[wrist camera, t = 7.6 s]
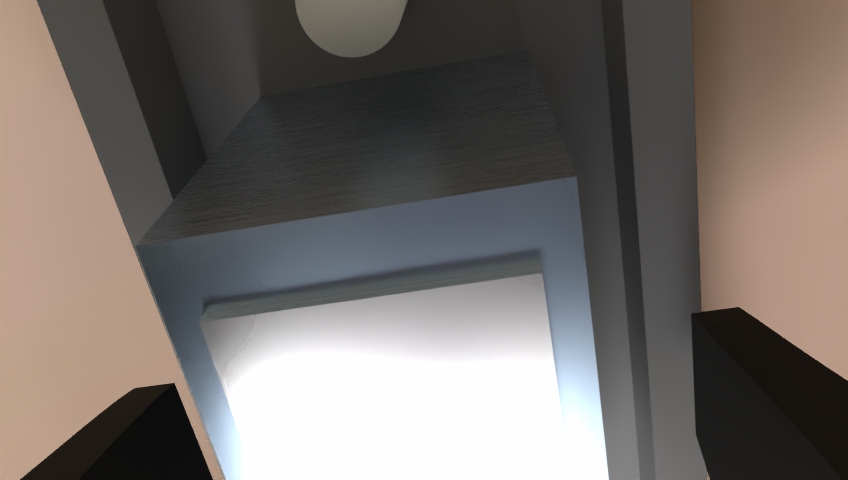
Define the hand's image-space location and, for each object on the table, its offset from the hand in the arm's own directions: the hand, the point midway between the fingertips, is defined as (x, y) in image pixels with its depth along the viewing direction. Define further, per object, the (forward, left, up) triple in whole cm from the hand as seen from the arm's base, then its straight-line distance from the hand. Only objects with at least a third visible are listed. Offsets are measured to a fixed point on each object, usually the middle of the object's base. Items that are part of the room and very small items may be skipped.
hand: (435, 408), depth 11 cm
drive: (0, 0, -3) cm, 3 cm away
